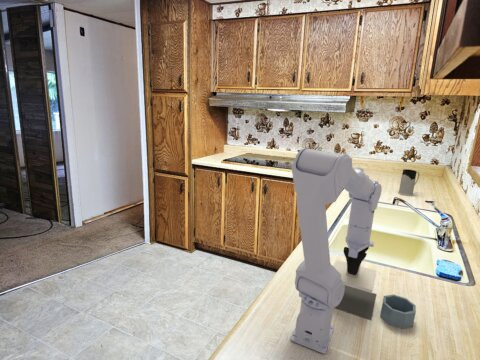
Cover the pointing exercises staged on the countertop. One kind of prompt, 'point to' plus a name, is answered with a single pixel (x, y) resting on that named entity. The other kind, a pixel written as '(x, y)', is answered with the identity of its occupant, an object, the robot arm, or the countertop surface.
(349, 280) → the cover
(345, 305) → the mat
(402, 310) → the bowl
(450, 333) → the countertop surface
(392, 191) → the countertop surface
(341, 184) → the robot arm
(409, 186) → the gray black pitcher
